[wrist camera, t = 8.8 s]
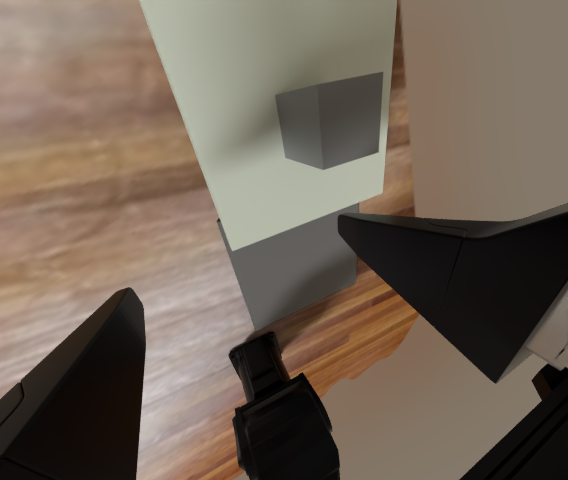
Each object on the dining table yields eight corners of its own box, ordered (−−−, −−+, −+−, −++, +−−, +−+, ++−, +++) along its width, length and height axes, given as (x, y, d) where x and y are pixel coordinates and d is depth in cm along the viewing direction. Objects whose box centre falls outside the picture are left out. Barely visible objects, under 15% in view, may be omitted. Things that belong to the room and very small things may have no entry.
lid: (375, 190, 20) (430, 209, 16) (230, 246, 16) (250, 289, 12) (389, -38, 13) (498, -118, 8) (126, -32, 9) (86, -171, 5)
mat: (354, 280, 33) (356, 282, 33) (255, 328, 29) (256, 331, 28) (357, 176, 25) (359, 176, 24) (216, 220, 20) (217, 222, 20)
